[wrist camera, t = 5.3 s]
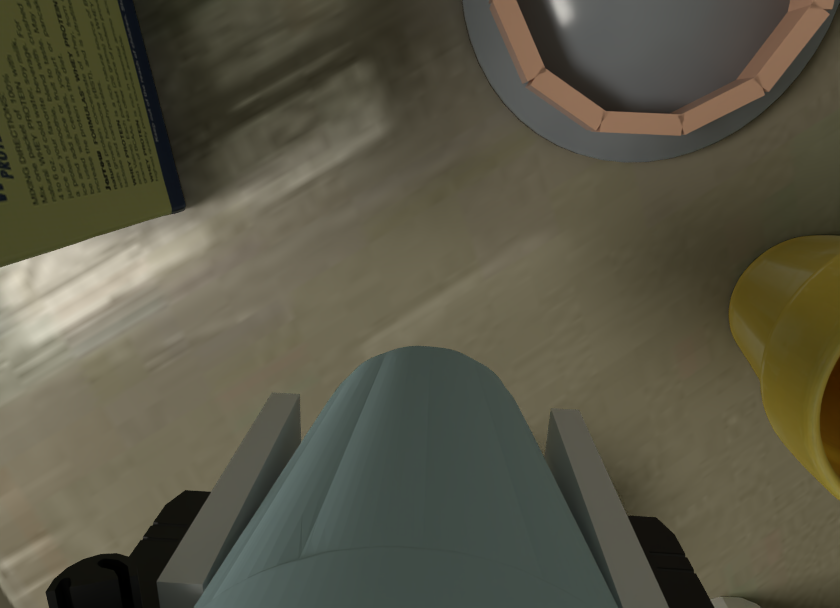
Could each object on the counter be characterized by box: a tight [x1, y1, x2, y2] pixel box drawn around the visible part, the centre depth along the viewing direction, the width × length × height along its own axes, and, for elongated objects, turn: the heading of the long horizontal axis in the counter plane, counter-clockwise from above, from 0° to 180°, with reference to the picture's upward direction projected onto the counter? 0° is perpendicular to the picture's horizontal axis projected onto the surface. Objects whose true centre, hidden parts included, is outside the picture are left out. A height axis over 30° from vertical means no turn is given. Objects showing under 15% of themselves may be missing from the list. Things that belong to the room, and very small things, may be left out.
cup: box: [194, 346, 618, 608], centre depth 11 cm, size 8×8×10 cm
